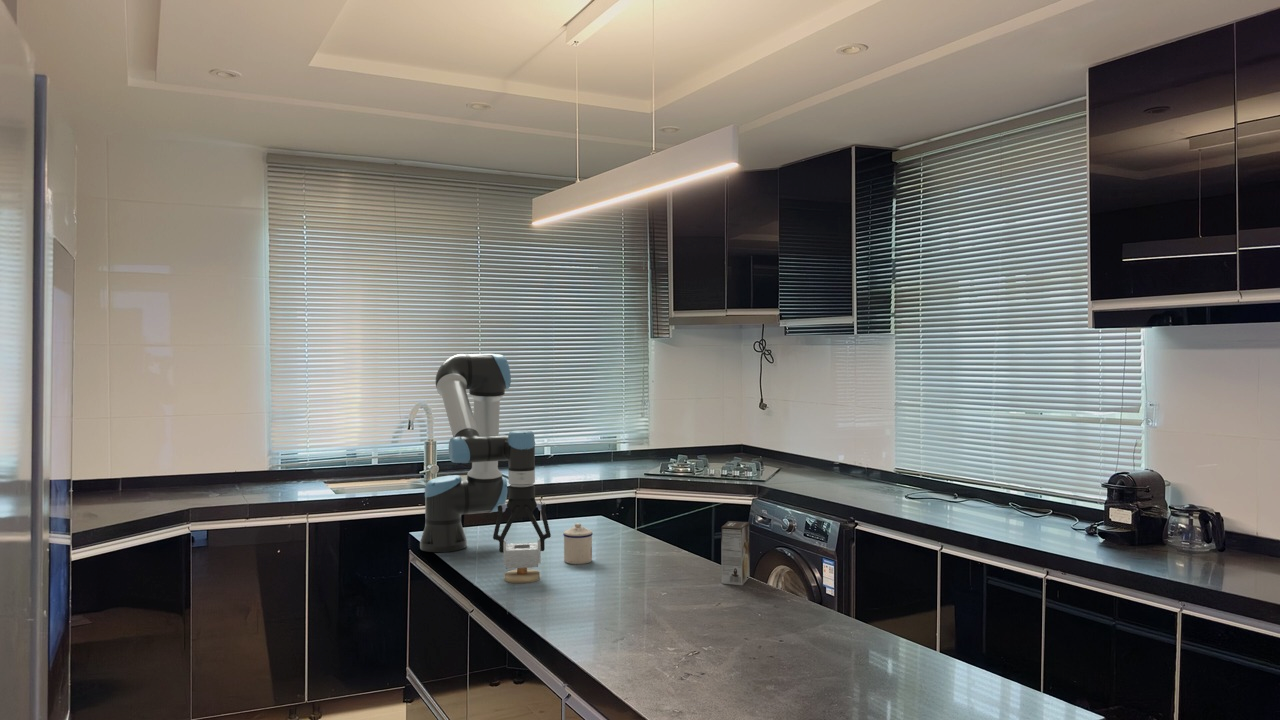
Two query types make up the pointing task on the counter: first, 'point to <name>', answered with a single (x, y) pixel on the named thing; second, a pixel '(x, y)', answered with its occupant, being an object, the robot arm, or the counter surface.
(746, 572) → the coffee box
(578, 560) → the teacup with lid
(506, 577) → the hub
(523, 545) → the white boxy piece
